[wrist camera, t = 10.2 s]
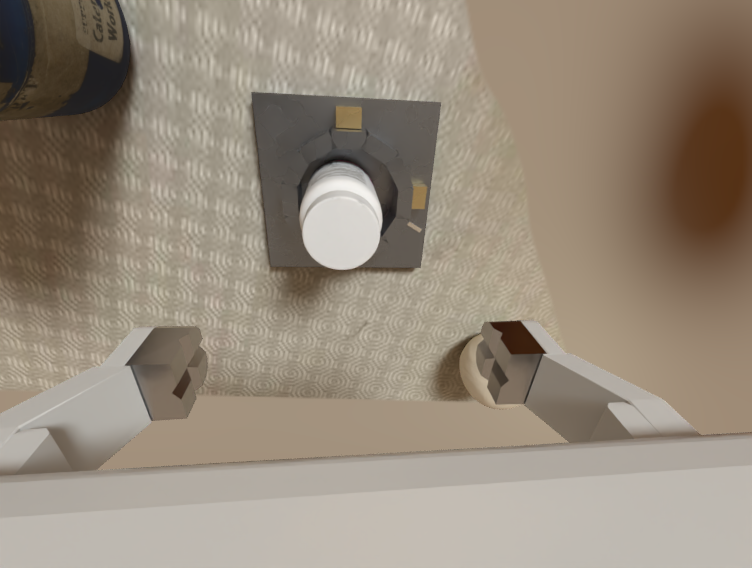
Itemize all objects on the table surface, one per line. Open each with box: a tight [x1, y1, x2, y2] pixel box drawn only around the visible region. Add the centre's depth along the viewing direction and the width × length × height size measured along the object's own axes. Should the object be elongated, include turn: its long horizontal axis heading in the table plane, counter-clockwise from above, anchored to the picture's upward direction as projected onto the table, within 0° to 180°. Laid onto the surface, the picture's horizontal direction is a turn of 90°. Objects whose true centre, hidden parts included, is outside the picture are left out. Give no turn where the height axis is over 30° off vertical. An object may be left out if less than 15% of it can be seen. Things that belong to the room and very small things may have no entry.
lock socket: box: [251, 92, 441, 268], centre depth 24 cm, size 12×12×4 cm
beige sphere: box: [459, 334, 521, 409], centre depth 31 cm, size 7×7×7 cm
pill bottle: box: [299, 160, 382, 270], centre depth 21 cm, size 5×5×8 cm
